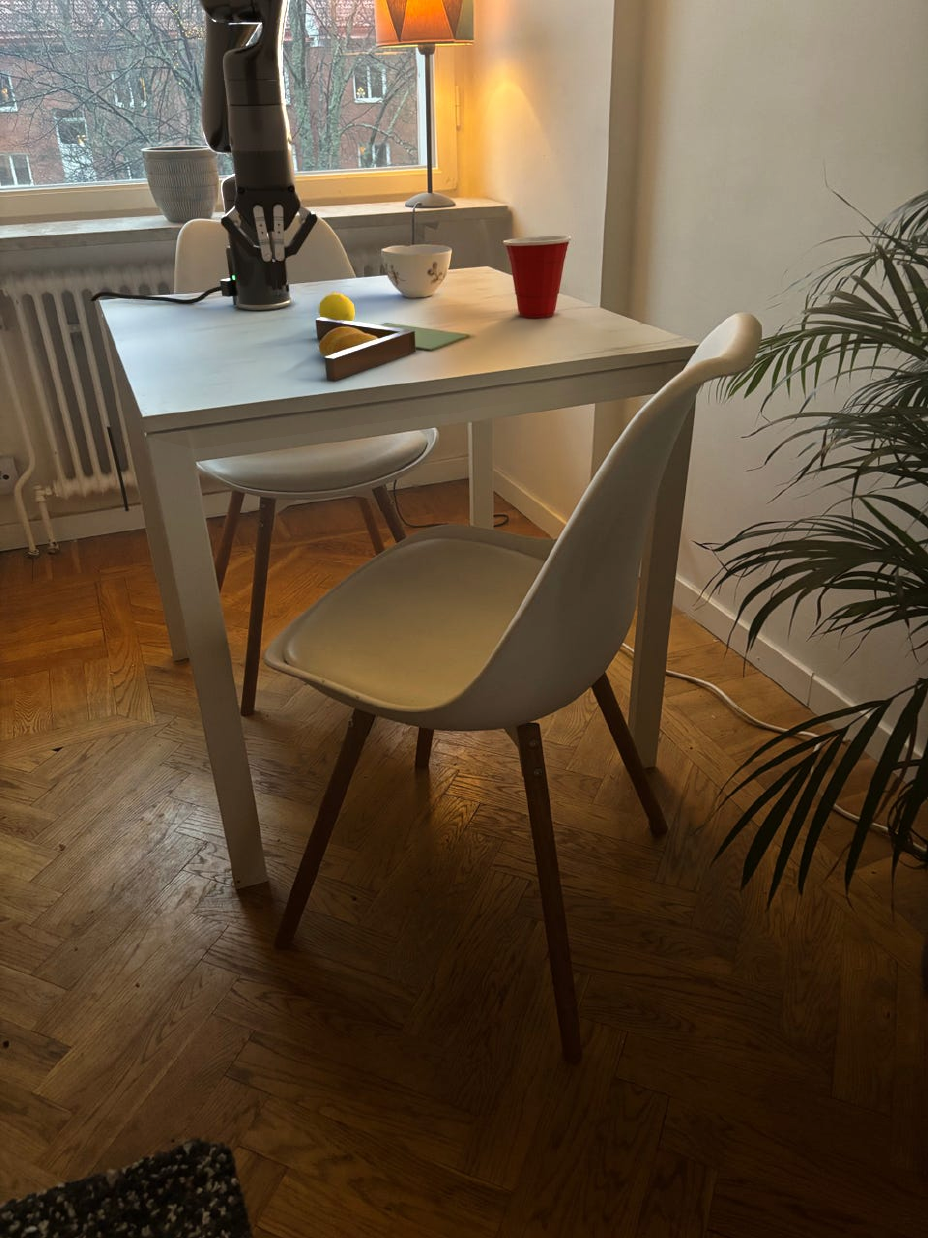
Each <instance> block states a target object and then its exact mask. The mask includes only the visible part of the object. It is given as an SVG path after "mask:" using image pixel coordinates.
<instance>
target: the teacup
mask: <svg viewBox="0 0 928 1238" xmlns="http://www.w3.org/2000/svg"><path fill="white" fill-rule="evenodd" d="M452 251H453V250H452V248H451V247H450V246H446V245H442V244H440V245H439V244H429V243H427V244H424V243H423V244H410V245H408V246H406V245H403V244H402V245H391V246H388V247H384V248H381V249H380V254H381V255H380V256H381V261H382V264H383V268H384V271H385V274H386V276H387V278H388V280H389V281H390V283H391V284H392V285H393V287H394V288H395V289H396V290H397V291H398V292H399V293H400V294H401V295H402V296H403V297H405V298H414V299H415V298H425V297H426V298H427V297H429V296H434V295H435V293H436V291H437V290H439V288H440V286H441V285H442V284H443V283H444V281H445V279H446V277H447V274H448V272H449V268H450V264H451V258H452V253H453V252H452Z"/></svg>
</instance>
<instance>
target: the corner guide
mask: <svg viewBox="0 0 928 1238" xmlns="http://www.w3.org/2000/svg"><path fill="white" fill-rule="evenodd" d="M378 325H379V324H378ZM378 325H377V324H371V323H364V322H357V321H352V322H350V321H343V320H336V319H329V318H321V317H319V318H315V328H316V329H315V330H316V338H317V339H316V340H318V341H321V340H322V338H323V337H324V336H325V335H326V334H327V333H328V332H330V331H331V330H333V329H335V328H338V327H352V328H356V329H358V330H360V331H362V332H363V333H366V334H370V335H373V336H376V337H377V338H378V339H377V340H374V341H371V342H368V343H365V344H362V345H359V346H356V347H353V348H350V349H347V350H344V351H341V352H338V353H335V354H332V355H329V356H326V357H325V358H324V368H325V377H326V381H331V382H337V381H340V380H343V379H346V378H349V377H351V376H354V375H357V374H359V373H362V372H365V371H367V370H371V369H373V368H376V367H378V366H381V365H383V364H387V363H389V362H392V361H394V360H398V359H400V358H403V357H406V356H409V355H411V354H414V353H416V350H417V349H415V331H413V330H406V329H399V328H392V327H385V326H378Z"/></svg>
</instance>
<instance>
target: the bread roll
mask: <svg viewBox="0 0 928 1238" xmlns="http://www.w3.org/2000/svg"><path fill="white" fill-rule="evenodd" d="M377 339H378V338H377V337H376V336H373V335H370V334H366V333H363V332H362V331H360V330H358V329H356V328H352V327H338V328H335V329H333V330H331V331H330V332H328V333H327V334H326V335H325V336H324V337H323V338H322V340H319V344H318V351H319V353H320V354H321V356H322V357H323V359H325V357H326V356H329V355H332V354H335V353H338V352H341V351H344V350H347V349H350V348H353V347H356V346H359V345H362V344H365V343H368V342H371V341H374V340H377Z"/></svg>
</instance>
